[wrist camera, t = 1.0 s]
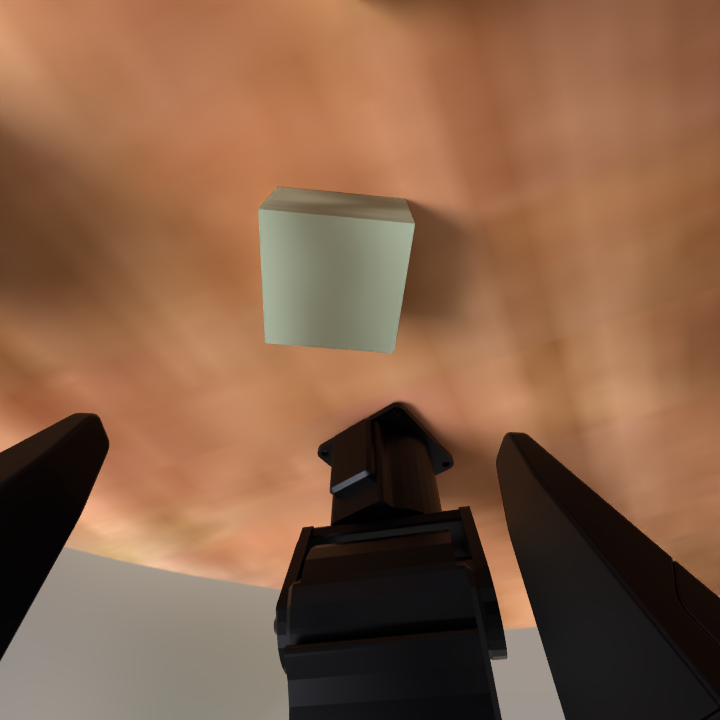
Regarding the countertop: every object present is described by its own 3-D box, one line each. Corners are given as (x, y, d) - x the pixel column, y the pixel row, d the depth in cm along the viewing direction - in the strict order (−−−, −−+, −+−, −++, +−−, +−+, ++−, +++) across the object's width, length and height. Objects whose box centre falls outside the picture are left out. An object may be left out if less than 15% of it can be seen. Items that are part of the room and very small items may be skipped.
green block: (405, 197, 17) (414, 223, 14) (388, 310, 21) (393, 353, 17) (278, 185, 17) (258, 209, 14) (280, 301, 20) (265, 343, 17)
